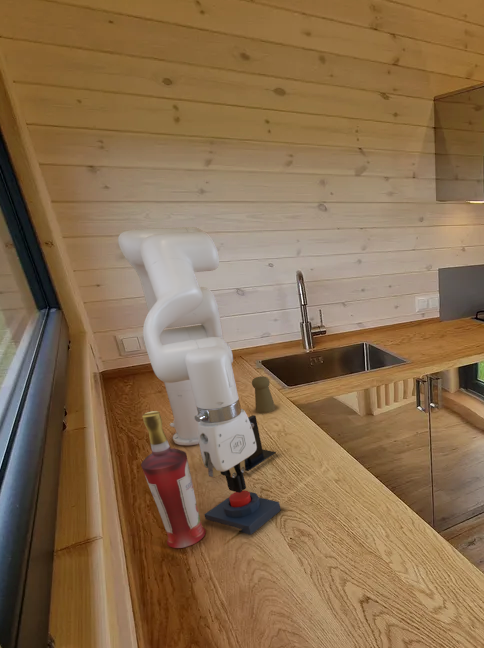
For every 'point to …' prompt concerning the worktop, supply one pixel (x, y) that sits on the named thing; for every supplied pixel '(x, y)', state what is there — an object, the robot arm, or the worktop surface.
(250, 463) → the switch bracket
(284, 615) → the worktop surface
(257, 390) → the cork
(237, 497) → the switch button
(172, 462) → the liquor
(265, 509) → the switch box
